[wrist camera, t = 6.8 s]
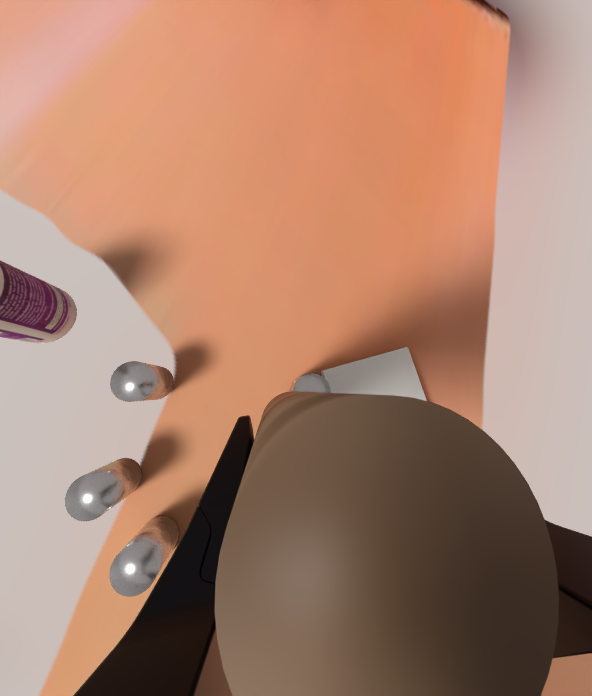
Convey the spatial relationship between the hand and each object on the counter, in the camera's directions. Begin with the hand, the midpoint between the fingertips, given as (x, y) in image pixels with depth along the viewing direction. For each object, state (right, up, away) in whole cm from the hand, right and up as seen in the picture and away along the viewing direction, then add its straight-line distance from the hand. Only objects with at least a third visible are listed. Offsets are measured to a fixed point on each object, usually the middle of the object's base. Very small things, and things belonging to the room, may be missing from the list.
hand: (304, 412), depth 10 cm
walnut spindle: (-1, -3, +7) cm, 7 cm away
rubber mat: (+8, -3, +14) cm, 16 cm away
